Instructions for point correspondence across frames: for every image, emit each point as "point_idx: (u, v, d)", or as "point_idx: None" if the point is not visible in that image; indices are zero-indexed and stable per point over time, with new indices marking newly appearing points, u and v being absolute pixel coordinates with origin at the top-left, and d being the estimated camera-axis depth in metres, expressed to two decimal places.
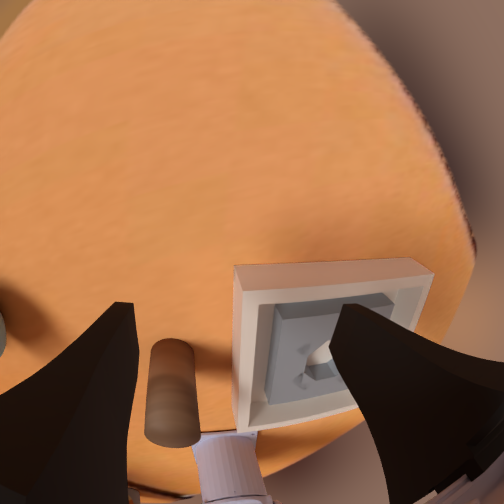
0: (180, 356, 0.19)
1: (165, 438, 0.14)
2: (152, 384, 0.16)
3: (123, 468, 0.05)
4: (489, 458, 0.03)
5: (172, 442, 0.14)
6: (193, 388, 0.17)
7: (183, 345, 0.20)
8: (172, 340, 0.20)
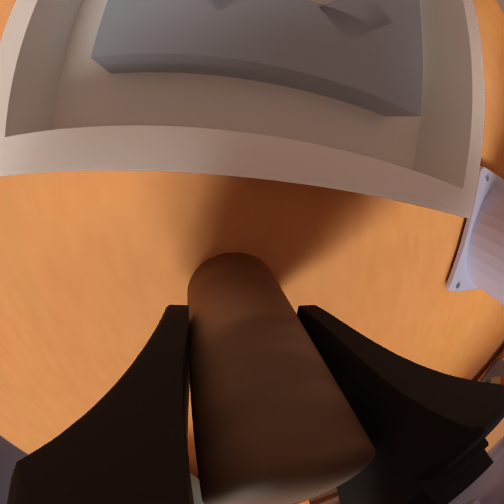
0: (194, 300, 0.09)
1: (303, 491, 0.04)
2: None
3: None
4: (450, 493, 0.03)
5: (329, 480, 0.04)
6: (235, 327, 0.06)
7: (198, 274, 0.10)
8: (188, 290, 0.10)
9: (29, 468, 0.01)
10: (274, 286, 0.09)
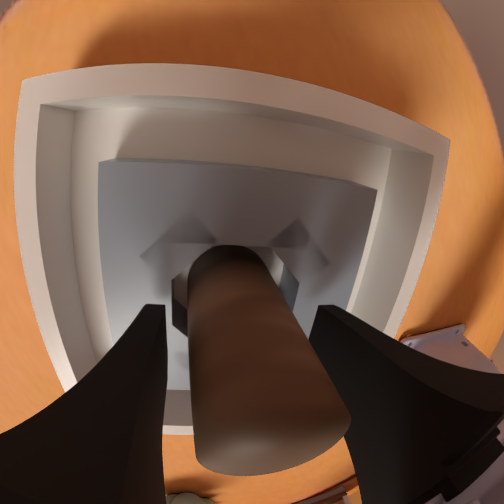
0: (193, 285, 0.10)
1: (287, 454, 0.05)
2: None
3: (161, 472, 0.05)
4: (468, 477, 0.03)
5: (311, 444, 0.05)
6: (228, 304, 0.07)
7: (197, 263, 0.11)
8: (188, 279, 0.12)
9: None
10: (265, 273, 0.10)
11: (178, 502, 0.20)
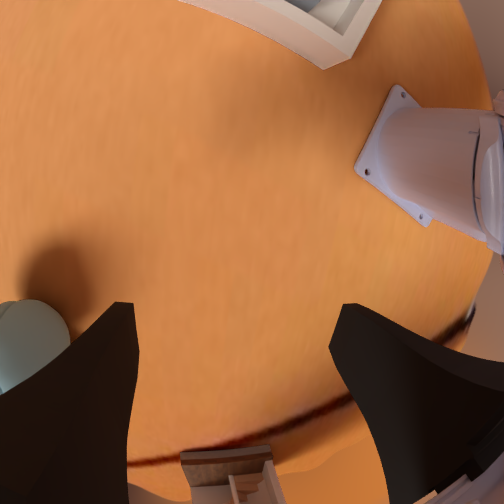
0: None
1: None
2: None
3: (123, 468, 0.05)
4: (489, 458, 0.03)
5: None
6: None
7: None
8: None
9: None
10: None
11: (31, 299, 0.14)
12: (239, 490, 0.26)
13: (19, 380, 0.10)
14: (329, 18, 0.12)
